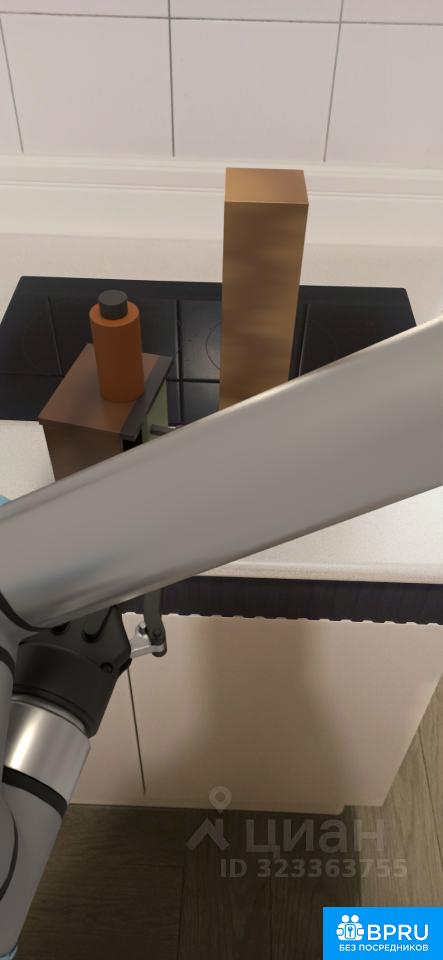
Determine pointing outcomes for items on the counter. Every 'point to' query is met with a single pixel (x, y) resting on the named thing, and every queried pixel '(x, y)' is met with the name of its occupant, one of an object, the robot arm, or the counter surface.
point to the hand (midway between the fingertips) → (152, 473)
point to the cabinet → (96, 415)
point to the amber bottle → (117, 347)
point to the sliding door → (157, 418)
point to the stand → (260, 278)
